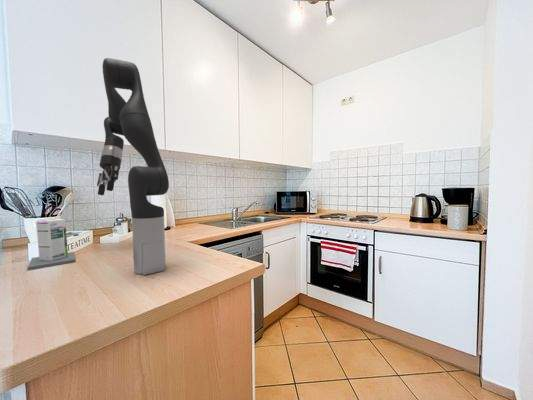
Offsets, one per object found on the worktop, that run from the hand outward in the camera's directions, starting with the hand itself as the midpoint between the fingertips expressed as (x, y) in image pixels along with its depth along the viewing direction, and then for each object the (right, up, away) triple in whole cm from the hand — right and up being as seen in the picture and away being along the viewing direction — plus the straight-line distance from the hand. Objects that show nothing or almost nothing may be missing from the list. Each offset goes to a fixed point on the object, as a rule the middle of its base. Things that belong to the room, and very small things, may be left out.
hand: (105, 192), depth 96 cm
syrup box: (-11, -25, -12) cm, 29 cm away
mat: (-10, -26, -12) cm, 30 cm away
